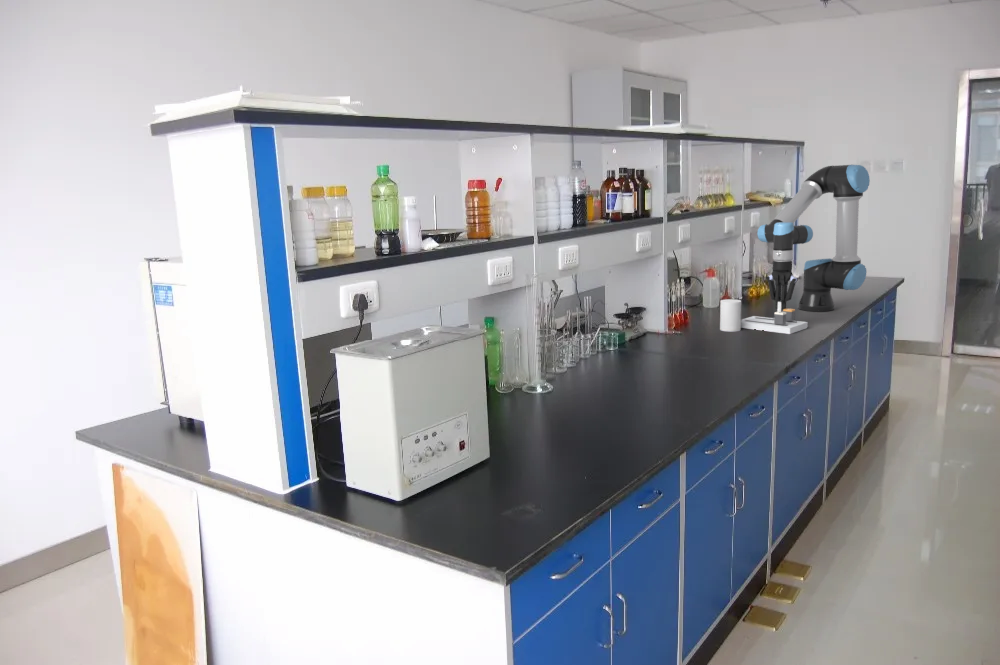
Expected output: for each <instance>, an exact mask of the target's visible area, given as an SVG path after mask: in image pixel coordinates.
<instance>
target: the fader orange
mask: <svg viewBox="0 0 1000 665" xmlns="http://www.w3.org/2000/svg"><path fill="white" fill-rule="evenodd" d="M783 312H786V321H791V322H792V321H796V320H795V316H796V309H795V308H788V307H786V309H783Z"/></svg>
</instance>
